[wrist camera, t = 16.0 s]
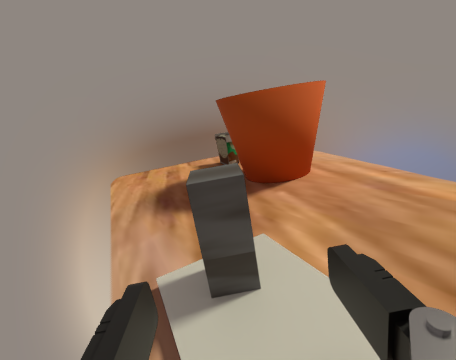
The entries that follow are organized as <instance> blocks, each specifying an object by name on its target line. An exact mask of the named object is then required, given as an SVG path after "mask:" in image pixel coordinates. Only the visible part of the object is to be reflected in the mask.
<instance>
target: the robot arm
mask: <svg viewBox="0 0 456 360" xmlns="http://www.w3.org/2000/svg"><path fill="white" fill-rule="evenodd" d="M328 269H329V280H330V284H331V286H332V289H333V291H334V292H335V294H336V295H337V297H338V298H339V300H340V301H341V303H342V304H343V305H344V307H345V308H346V310H347V311H348V313H349V314H350V316H351V317H352V319H353V320H354V322H355V323H356V324H357V326H358V327H359V329H360V330H361V332H362V333H363V335H364V336H365V338H366V339H367V341H368V342H369V343H370V345H371V346H372V348H373V349H374V351H375V352H376V354H377V355H378V357H379V358H380V360H456V317H454V316H453V315H451V314H449V313H447V312H445V311H442V310H439V309H436V308H431V307H426V306H425V305H424V304H423V303H422V302H421V301H420V300H419V299H417V298H416V297H415V296H414V295H413V294H412V293H411V292H410V291H409V290H408V289H406V288H405V287H404V286H403V285H402V284H401V283H400V282H399V281H398V280H397V279H395V278H393V276H392V275H391V274H390V273H389V272H388V271H387V270H386V271H385V269H384V268H383V267H382V266H381V265H380V264H379V263H378V262H377V261H376V260H374V259H372V258H370V257H368V256H366V255H364V254H358V255H357V254H356V253H355V252H354V251H353V250H352V249H351V248H350V247H349V246H348V245H346V244H345V245H340V246H334V247H329V248H328ZM157 323H158V313H157V308H156V305H155V302H154V299H153V296H152V292H151V289H150V286H149V284H148V282H141V283H136V284H131V285H128V286H127V288H126V290H125V292H124V294H123V296H122V298H121V299H119V300H116V301H115V302H114V303H113V304H112V305H111V306H110V307H109V308H108V309H107V311H106V312H105V314H104V316H103V318H102V320H101V322H100V325H99V326H98V328H97V329H96V331H95V335H94V336H93V337H92V339H91V341H90V343H89V345H88V347H87V348H86V350H85V352H84V354H83V356H82V358H81V360H149V356H150V352H151V348H152V344H153V340H154V336H155V332H156V328H157Z"/></svg>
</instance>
